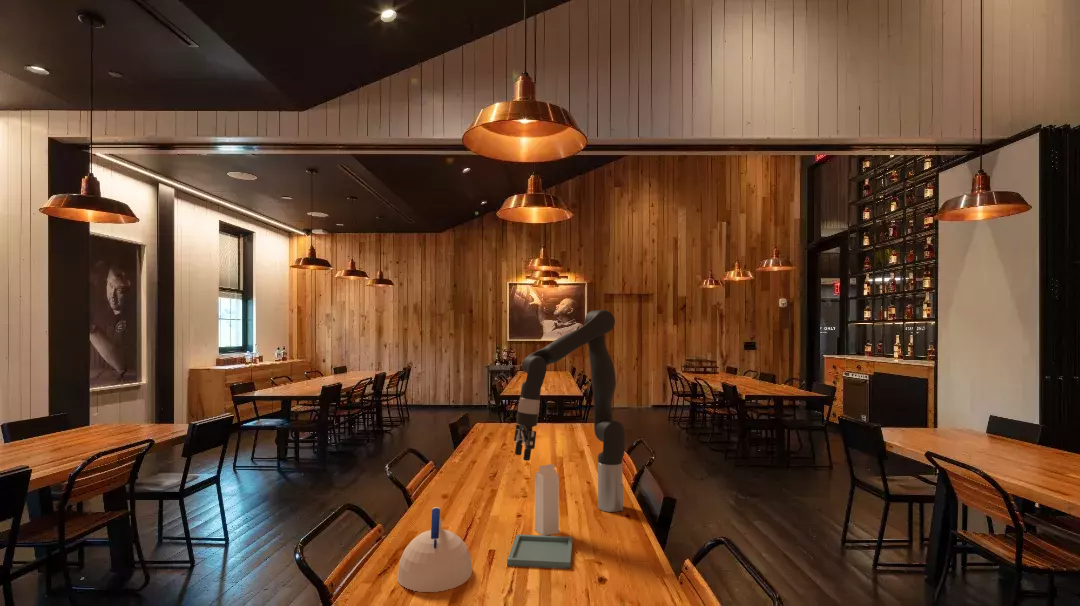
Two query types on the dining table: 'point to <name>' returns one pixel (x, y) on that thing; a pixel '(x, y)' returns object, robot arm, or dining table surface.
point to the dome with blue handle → (435, 560)
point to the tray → (541, 551)
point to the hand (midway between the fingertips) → (522, 457)
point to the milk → (547, 500)
